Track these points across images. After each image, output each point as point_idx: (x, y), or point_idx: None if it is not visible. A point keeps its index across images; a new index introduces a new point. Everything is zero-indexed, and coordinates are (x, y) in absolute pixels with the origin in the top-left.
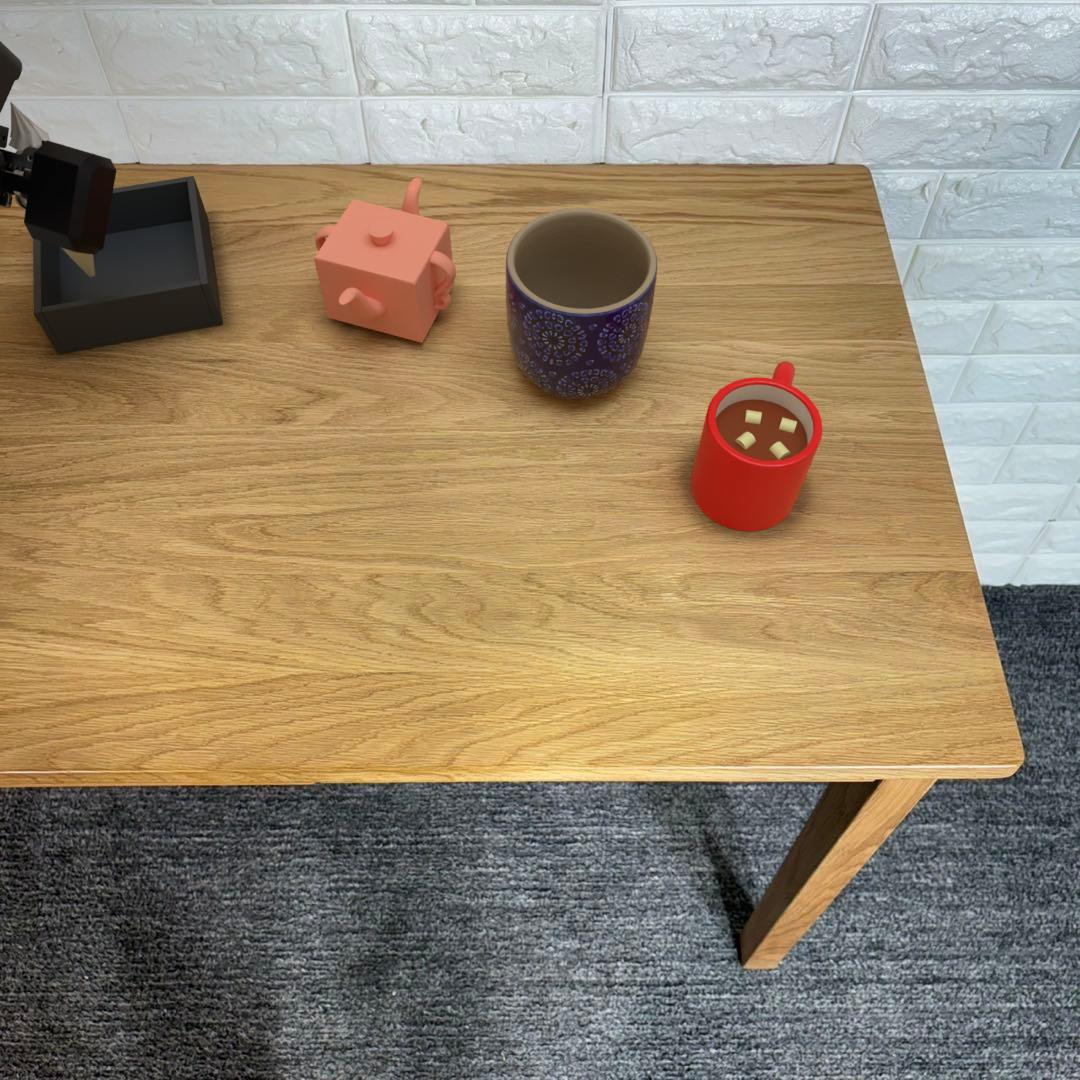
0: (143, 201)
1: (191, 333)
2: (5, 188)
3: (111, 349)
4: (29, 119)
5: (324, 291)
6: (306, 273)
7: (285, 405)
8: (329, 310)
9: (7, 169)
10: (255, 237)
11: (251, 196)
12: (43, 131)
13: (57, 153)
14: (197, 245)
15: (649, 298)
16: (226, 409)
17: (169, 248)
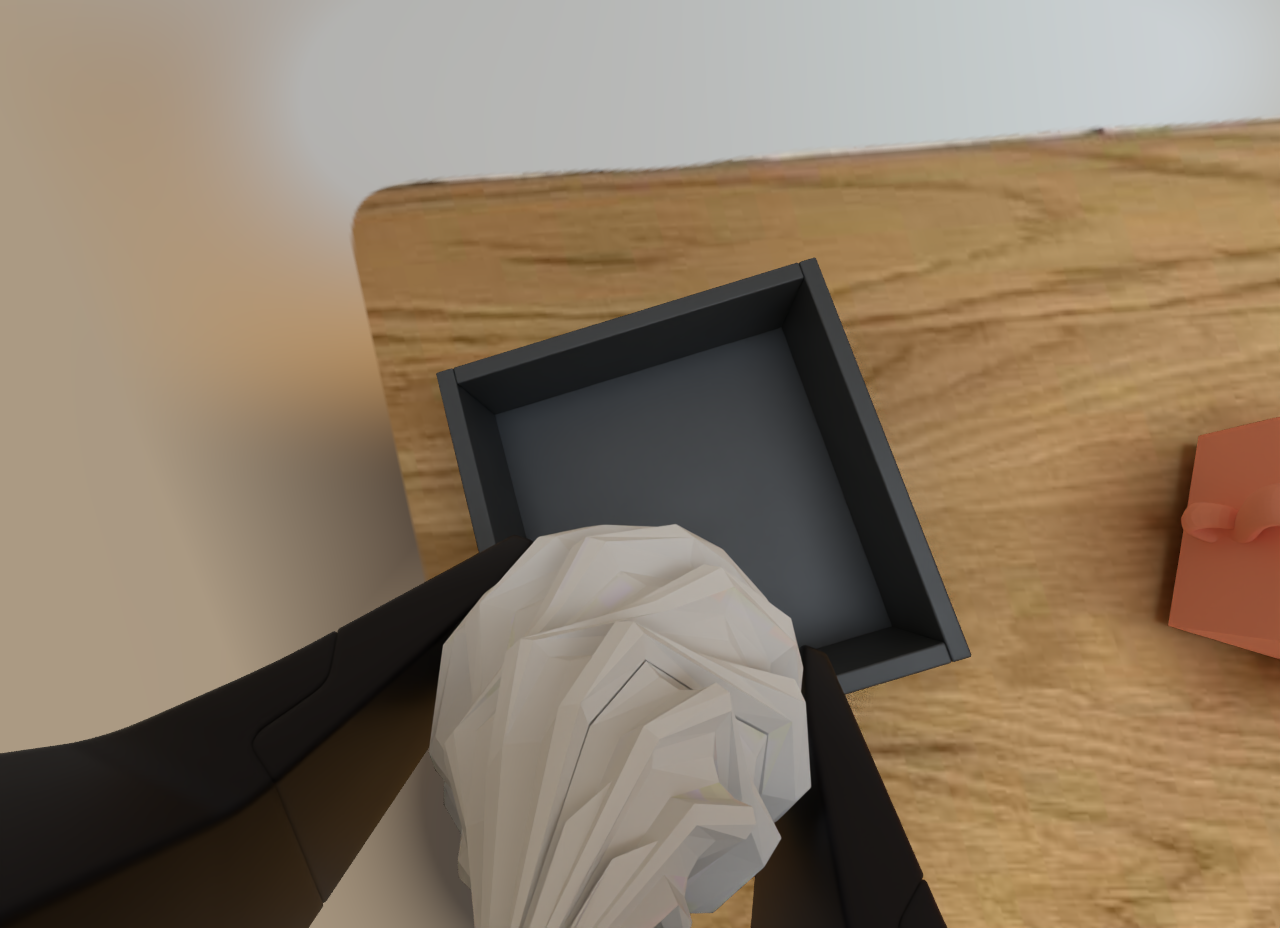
0: (686, 329)
1: None
2: (431, 728)
3: None
4: (634, 765)
5: (1266, 640)
6: (1052, 468)
7: (1122, 891)
8: (1201, 631)
9: (425, 678)
10: (905, 365)
11: (863, 245)
12: (711, 722)
13: None
14: (901, 512)
15: None
16: (986, 904)
17: (736, 421)
